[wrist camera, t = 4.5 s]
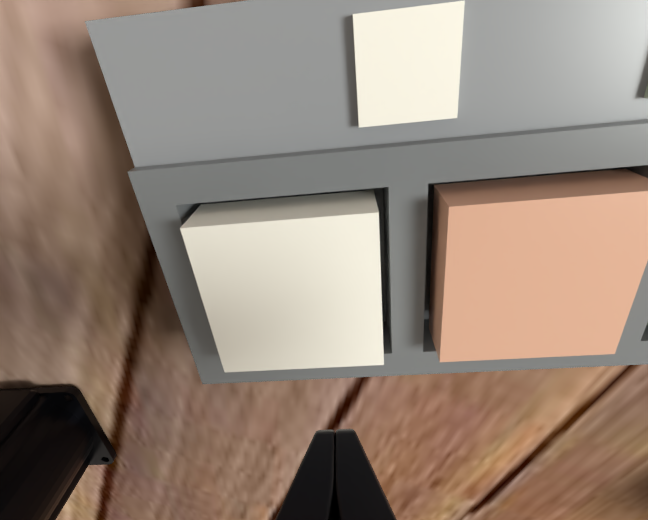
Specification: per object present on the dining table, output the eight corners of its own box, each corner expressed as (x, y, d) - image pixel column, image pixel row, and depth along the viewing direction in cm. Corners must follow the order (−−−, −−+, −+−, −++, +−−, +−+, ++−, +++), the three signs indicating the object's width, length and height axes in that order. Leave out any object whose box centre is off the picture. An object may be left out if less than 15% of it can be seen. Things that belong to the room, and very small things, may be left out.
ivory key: (379, 329, 16) (384, 364, 14) (237, 337, 16) (224, 372, 14) (373, 190, 13) (378, 212, 11) (201, 204, 13) (179, 228, 12)
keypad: (767, 300, 17) (859, 354, 14) (224, 330, 19) (202, 384, 16) (979, -80, 11) (1227, -129, 8) (136, 26, 13) (73, 20, 10)
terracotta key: (583, 318, 15) (614, 353, 13) (428, 326, 16) (439, 362, 14) (625, 168, 12) (673, 189, 10) (434, 184, 13) (449, 206, 11)
